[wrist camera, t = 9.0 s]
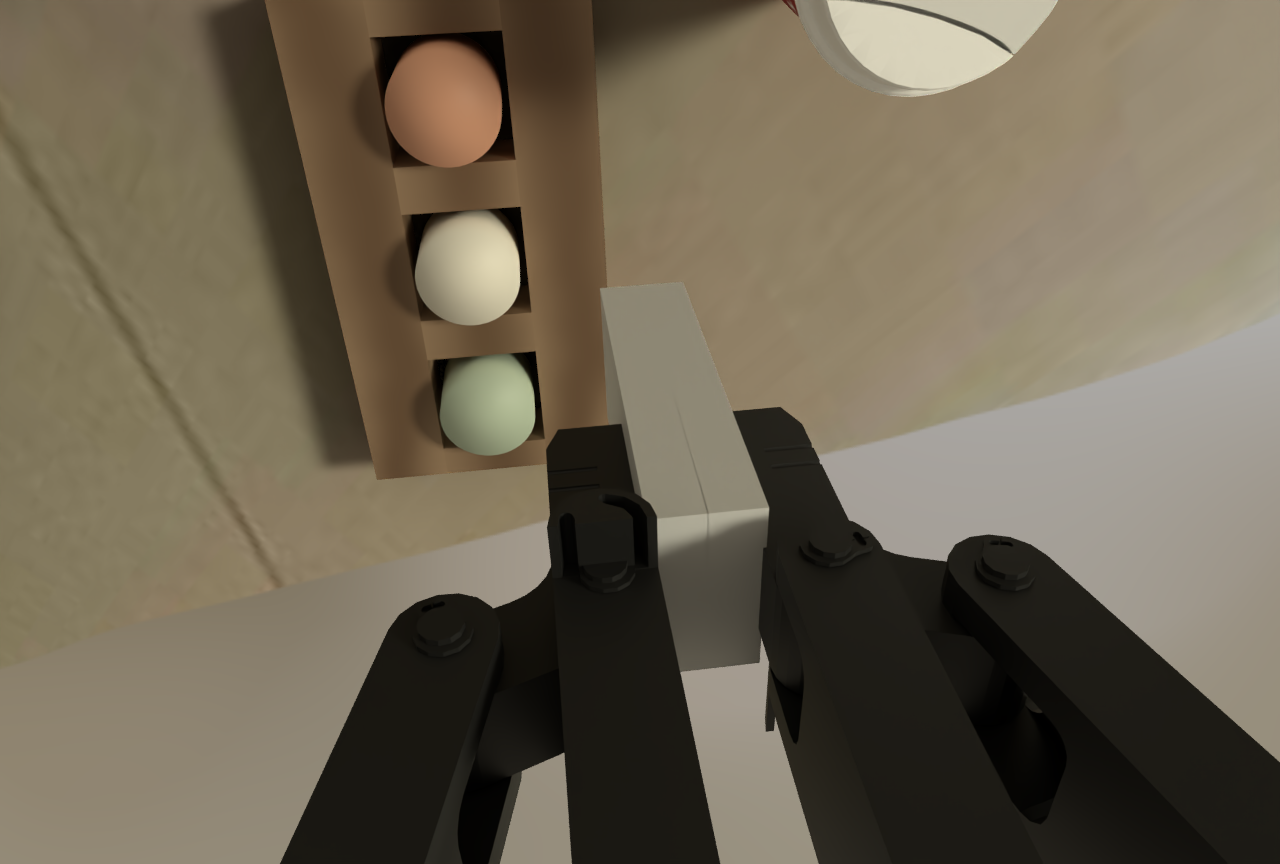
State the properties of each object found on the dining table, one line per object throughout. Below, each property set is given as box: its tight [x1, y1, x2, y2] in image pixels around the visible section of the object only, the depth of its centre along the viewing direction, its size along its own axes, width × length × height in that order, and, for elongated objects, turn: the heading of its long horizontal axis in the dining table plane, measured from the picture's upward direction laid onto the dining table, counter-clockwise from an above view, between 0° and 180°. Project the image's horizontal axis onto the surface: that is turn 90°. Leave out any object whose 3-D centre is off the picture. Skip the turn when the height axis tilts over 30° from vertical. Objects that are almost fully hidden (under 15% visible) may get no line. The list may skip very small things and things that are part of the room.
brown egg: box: [385, 33, 502, 168], centre depth 37 cm, size 4×4×4 cm
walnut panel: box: [265, 0, 609, 480], centre depth 42 cm, size 12×22×3 cm, turn 2°
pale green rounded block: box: [440, 352, 535, 456], centre depth 45 cm, size 4×4×4 cm
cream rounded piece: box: [415, 208, 520, 325], centre depth 41 cm, size 4×4×4 cm
